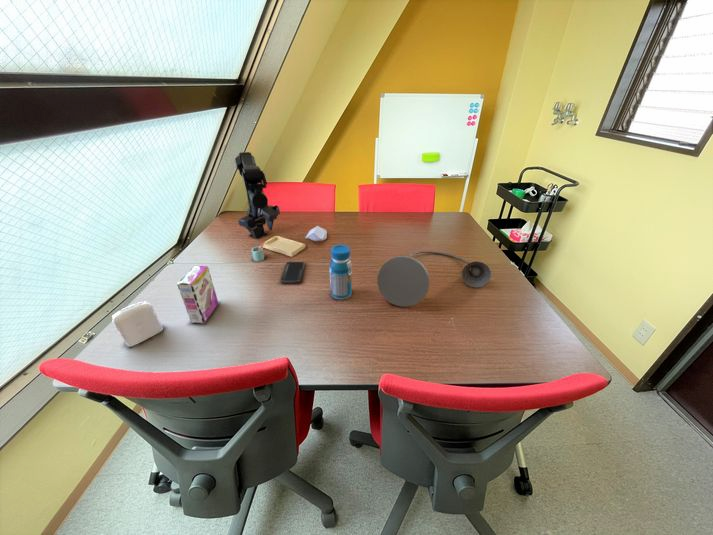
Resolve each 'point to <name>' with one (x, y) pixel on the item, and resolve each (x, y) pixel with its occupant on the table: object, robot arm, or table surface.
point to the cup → (257, 254)
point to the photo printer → (137, 323)
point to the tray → (284, 245)
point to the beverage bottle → (340, 272)
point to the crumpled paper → (317, 234)
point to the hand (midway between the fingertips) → (263, 234)
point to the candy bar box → (198, 294)
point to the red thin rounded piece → (261, 246)
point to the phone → (293, 272)
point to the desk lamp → (420, 278)
